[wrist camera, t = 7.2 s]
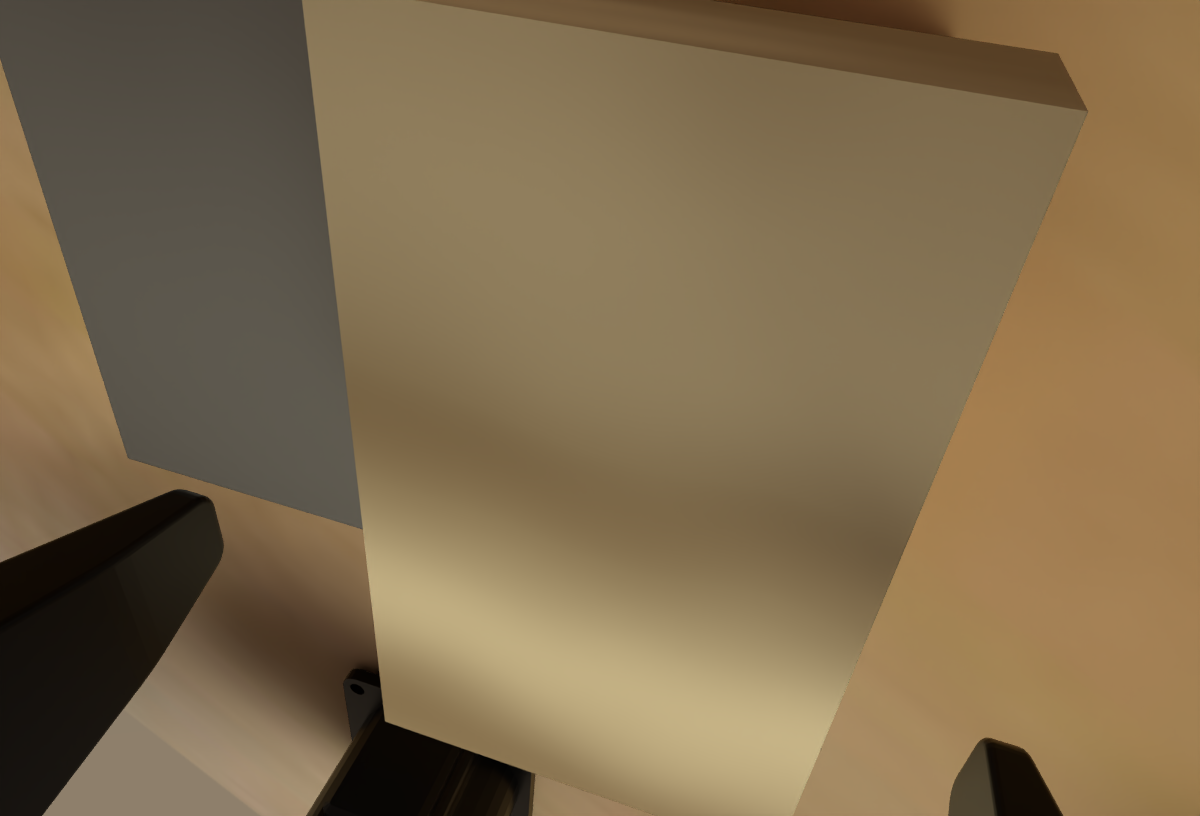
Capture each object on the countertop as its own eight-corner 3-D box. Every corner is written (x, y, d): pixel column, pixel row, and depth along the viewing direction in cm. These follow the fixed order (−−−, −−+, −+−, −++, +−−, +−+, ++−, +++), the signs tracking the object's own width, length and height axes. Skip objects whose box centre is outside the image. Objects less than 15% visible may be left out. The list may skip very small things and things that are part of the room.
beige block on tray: (791, 750, 15) (775, 857, 14) (435, 635, 17) (385, 721, 15) (1058, 53, 8) (1089, 111, 7) (401, -49, 10) (300, -19, 8)
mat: (421, 534, 23) (413, 544, 23) (138, 449, 25) (128, 458, 24) (387, -45, 15) (375, -41, 14) (-35, -111, 16) (-54, -109, 16)
